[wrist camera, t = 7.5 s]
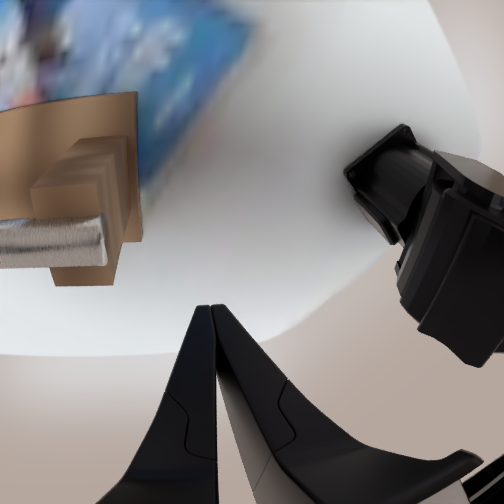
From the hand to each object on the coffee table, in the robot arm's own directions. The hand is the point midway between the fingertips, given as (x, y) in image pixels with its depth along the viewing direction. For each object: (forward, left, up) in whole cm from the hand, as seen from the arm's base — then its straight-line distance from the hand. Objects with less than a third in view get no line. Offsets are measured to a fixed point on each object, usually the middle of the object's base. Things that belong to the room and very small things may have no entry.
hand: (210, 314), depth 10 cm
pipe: (+11, -11, -6) cm, 17 cm away
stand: (+11, -11, -13) cm, 21 cm away
